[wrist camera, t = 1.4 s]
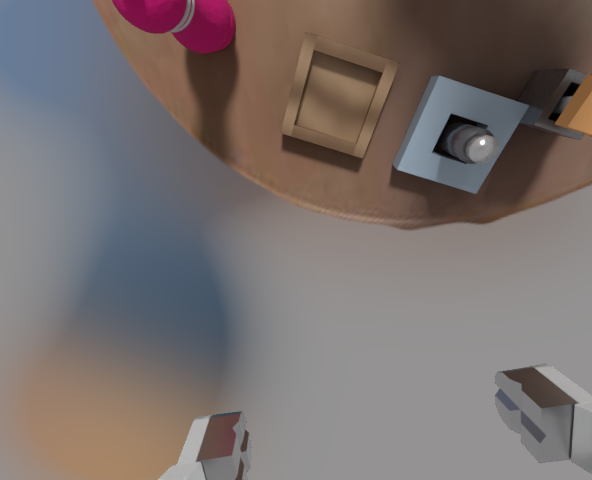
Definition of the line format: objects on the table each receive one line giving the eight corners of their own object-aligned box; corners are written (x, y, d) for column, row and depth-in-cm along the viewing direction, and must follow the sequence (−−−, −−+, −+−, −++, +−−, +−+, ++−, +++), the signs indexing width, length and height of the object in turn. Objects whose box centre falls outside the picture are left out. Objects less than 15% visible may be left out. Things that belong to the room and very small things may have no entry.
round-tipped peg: (444, 116, 41) (478, 126, 32) (471, 125, 41) (512, 137, 33) (430, 145, 43) (458, 162, 34) (456, 153, 43) (490, 172, 34)
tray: (306, 34, 38) (305, 31, 36) (395, 64, 39) (399, 63, 36) (282, 130, 44) (280, 133, 41) (360, 154, 44) (362, 158, 42)
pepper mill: (246, 48, 39) (184, 21, 21) (195, 62, 40) (96, 46, 23) (229, -21, 36) (140, -121, 18) (174, -5, 37) (41, -84, 19)
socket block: (431, 76, 39) (439, 75, 36) (515, 103, 40) (529, 105, 37) (392, 164, 45) (397, 169, 42) (467, 187, 45) (476, 194, 43)
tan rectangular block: (552, 75, 35) (603, 74, 29) (589, 88, 36) (648, 90, 29) (525, 119, 38) (567, 126, 31) (561, 130, 38) (610, 140, 32)
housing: (535, 70, 38) (569, 68, 33) (577, 85, 38) (618, 85, 33) (506, 119, 41) (534, 125, 35) (546, 132, 41) (580, 140, 36)
